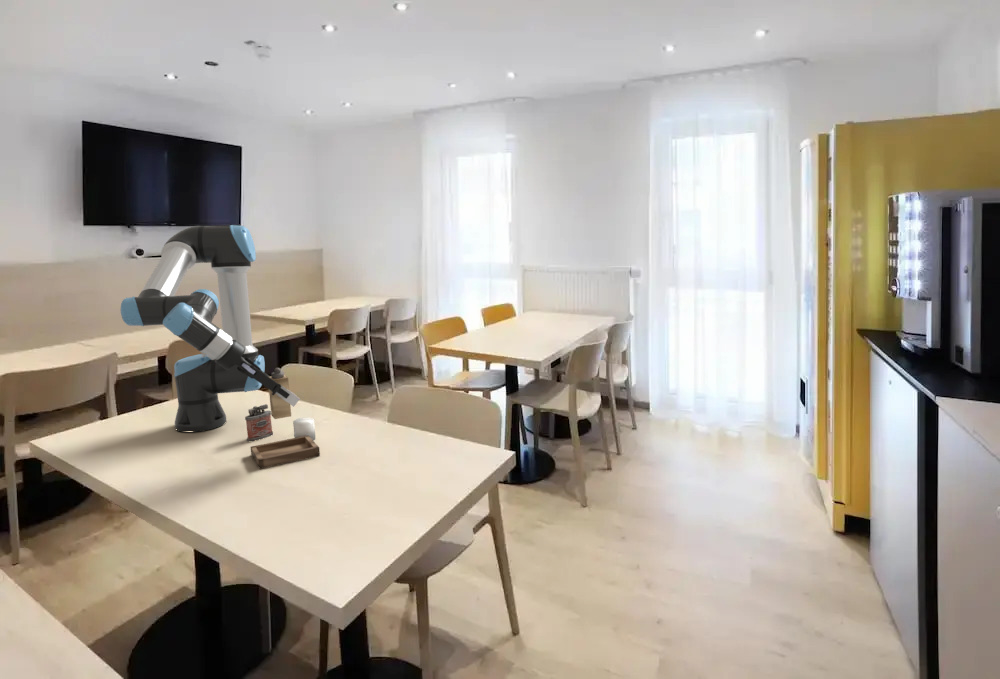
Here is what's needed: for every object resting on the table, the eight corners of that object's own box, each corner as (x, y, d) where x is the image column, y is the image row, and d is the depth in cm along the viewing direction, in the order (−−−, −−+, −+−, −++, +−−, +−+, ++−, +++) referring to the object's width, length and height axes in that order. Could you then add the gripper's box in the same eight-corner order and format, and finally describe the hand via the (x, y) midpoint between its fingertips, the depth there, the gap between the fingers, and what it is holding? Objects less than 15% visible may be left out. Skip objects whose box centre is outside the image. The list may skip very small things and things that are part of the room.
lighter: (251, 442, 173) (247, 410, 171) (245, 440, 175) (241, 408, 173) (275, 434, 180) (272, 403, 178) (269, 432, 182) (266, 402, 180)
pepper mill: (271, 415, 160) (266, 367, 158) (287, 412, 163) (283, 365, 160) (274, 419, 157) (270, 370, 154) (291, 416, 159) (287, 368, 157)
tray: (251, 455, 163) (250, 446, 163) (308, 443, 172) (308, 435, 171) (259, 469, 153) (258, 460, 153) (319, 455, 162) (319, 447, 161)
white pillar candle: (292, 438, 176) (291, 419, 175) (312, 434, 179) (311, 416, 178) (297, 444, 171) (295, 425, 170) (317, 440, 174) (316, 421, 173)
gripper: (209, 355, 156) (278, 403, 167) (218, 367, 141) (292, 419, 153) (228, 334, 158) (295, 383, 169) (239, 343, 143) (311, 396, 155)
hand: (294, 400), depth 161 cm, fingers closed on pepper mill, 4 cm apart
